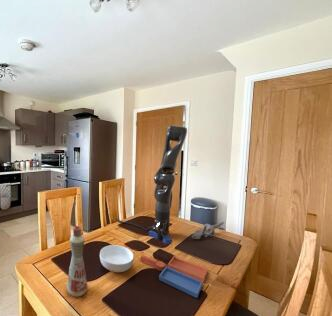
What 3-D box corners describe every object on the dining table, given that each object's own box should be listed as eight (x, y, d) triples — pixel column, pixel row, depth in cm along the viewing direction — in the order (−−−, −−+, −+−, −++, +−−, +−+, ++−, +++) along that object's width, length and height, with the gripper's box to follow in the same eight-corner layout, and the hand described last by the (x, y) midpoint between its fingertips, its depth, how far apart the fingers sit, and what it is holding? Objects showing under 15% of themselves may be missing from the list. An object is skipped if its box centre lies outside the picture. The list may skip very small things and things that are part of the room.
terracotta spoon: (139, 262, 103) (139, 257, 103) (143, 258, 107) (143, 253, 107) (162, 272, 95) (163, 267, 95) (166, 268, 99) (166, 262, 99)
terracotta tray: (167, 267, 100) (167, 263, 99) (173, 259, 107) (173, 255, 106) (203, 282, 89) (203, 278, 89) (207, 272, 96) (207, 268, 96)
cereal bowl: (110, 282, 88) (111, 267, 87) (93, 262, 102) (94, 249, 102) (140, 272, 95) (140, 258, 95) (120, 254, 110) (120, 242, 109)
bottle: (78, 279, 89) (80, 220, 87) (91, 291, 82) (93, 227, 80) (62, 288, 83) (63, 225, 81) (74, 301, 77) (76, 233, 74)
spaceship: (231, 222, 139) (220, 215, 145) (200, 237, 123) (189, 228, 129) (226, 230, 143) (216, 222, 149) (195, 246, 127) (185, 236, 133)
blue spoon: (147, 237, 110) (147, 232, 110) (151, 234, 114) (151, 229, 114) (169, 245, 102) (170, 240, 102) (172, 242, 106) (173, 237, 105)
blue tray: (158, 279, 90) (158, 275, 90) (165, 270, 97) (165, 266, 97) (197, 298, 80) (197, 293, 80) (202, 286, 87) (202, 281, 87)
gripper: (160, 204, 114) (158, 232, 115) (150, 210, 103) (148, 241, 105) (173, 207, 109) (171, 237, 111) (164, 214, 98) (162, 247, 100)
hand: (160, 239), depth 108 cm, fingers closed on blue spoon, 2 cm apart
